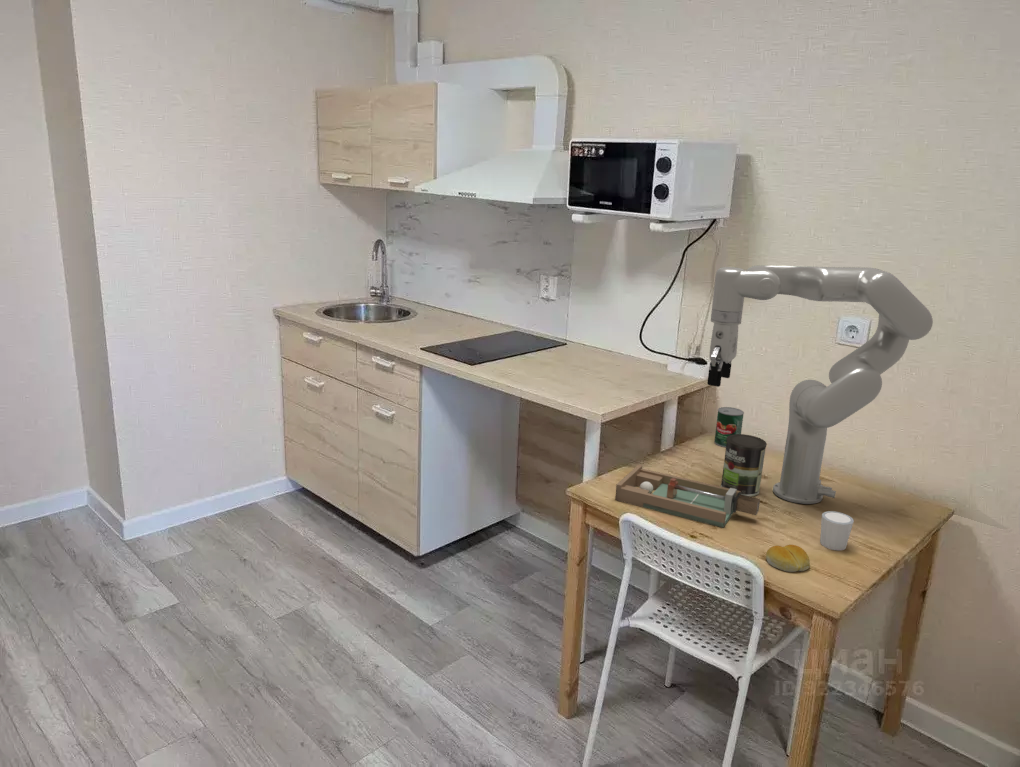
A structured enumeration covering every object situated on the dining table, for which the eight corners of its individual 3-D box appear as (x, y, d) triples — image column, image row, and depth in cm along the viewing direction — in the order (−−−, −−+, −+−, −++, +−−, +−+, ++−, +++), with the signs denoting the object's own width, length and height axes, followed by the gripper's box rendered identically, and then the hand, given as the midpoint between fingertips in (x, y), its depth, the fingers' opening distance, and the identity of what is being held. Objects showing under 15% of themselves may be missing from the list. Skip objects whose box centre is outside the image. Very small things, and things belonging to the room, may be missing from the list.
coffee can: (742, 500, 195) (748, 450, 191) (712, 485, 203) (718, 437, 199) (768, 492, 200) (775, 443, 196) (738, 478, 209) (744, 431, 205)
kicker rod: (758, 512, 184) (761, 495, 183) (754, 519, 180) (757, 502, 179) (671, 491, 195) (673, 475, 194) (665, 497, 191) (667, 481, 190)
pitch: (738, 504, 192) (741, 481, 191) (723, 527, 179) (726, 504, 177) (636, 479, 205) (638, 458, 204) (615, 500, 192) (617, 477, 190)
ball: (640, 480, 198) (644, 492, 198) (636, 484, 195) (639, 497, 195) (653, 478, 196) (656, 491, 196) (648, 483, 193) (652, 496, 193)
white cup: (812, 537, 176) (816, 510, 174) (839, 537, 176) (844, 510, 174) (825, 551, 169) (830, 524, 167) (854, 551, 170) (859, 524, 168)
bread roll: (759, 555, 167) (761, 539, 166) (796, 554, 168) (798, 538, 167) (777, 574, 159) (779, 558, 158) (815, 573, 160) (818, 556, 159)
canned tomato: (739, 441, 239) (743, 408, 235) (740, 449, 231) (744, 416, 228) (714, 438, 241) (718, 405, 237) (713, 446, 233) (717, 413, 230)
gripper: (732, 323, 179) (724, 391, 184) (748, 313, 194) (741, 376, 198) (702, 319, 183) (695, 386, 187) (720, 310, 197) (713, 372, 202)
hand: (718, 381), depth 193 cm, fingers open, 9 cm apart
